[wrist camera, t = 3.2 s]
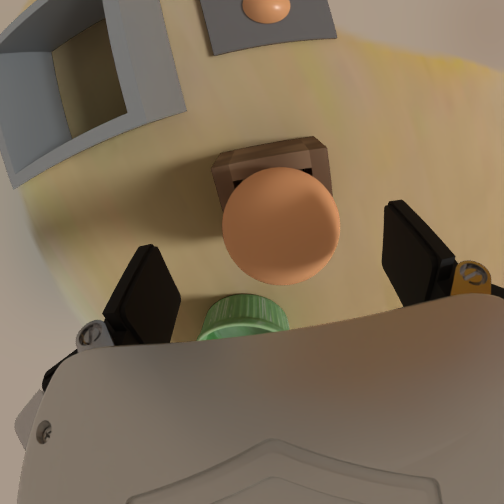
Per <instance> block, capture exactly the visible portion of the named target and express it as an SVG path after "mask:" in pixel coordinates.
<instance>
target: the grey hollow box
mask: <svg viewBox="0 0 504 504" xmlns="http://www.w3.org/2000/svg"><path fill="white" fill-rule="evenodd" d="M104 18H106V24H107V29H108V34H109V39H110V44H111V48H112V53H113V57H114V62H115V66H116V70H117V74H118V78H119V82H120V86H121V90H122V94H123V98H124V101H125V105H126V108H127V112H128V113H126V114H124V115H122V116H119V117H117V118H115V119H113V120H110V121H108V122H106V123H104V124H102V125H99V126H97V127H95V128H93V129H91V130H89V131H87V132H85V133H83V134H81V135H79V136H77V137H76V138H74V139H72V137H71V134H70V130H69V127H68V124H67V120H66V116H65V113H64V109H63V105H62V101H61V97H60V93H59V89H58V84H57V80H56V75H55V70H54V65H53V59H52V53H51V52H52V51H53V50H55V49H56V48H57V47H59V46H60V45H62V44H63V43H65V42H66V41H68V40H69V39H71V38H72V37H74V36H75V35H77V34H78V33H80V32H82V31H83V30H85V29H86V28H88V27H90V26H91V25H93V24H95V23H97V22H98V21H100V20H102V19H104ZM185 111H187V110H186V106H185V102H184V98H183V94H182V91H181V87H180V83H179V79H178V75H177V71H176V67H175V63H174V59H173V55H172V51H171V47H170V43H169V39H168V35H167V31H166V27H165V22H164V18H163V14H162V10H161V5H160V1H159V0H37V1H35V2H34V3H33V4H32V5H31V6H29V7H28V8H27V9H26V10H25V11H24V12H23V13H21V14H20V15H19V16H18V17H17V18H16V19H15V20H14V21H13V22H12V23H11V24H10V25H9V26H8V27H7V28H6V29H5V30H4V31H3V32H2V33H1V34H0V151H1V154H2V158H3V161H4V164H5V167H6V170H7V173H8V176H9V179H10V182H11V184H12V187H13V189H15V188H17V187H18V186H20V185H22V184H23V183H25V182H26V181H28V180H30V179H31V178H33V177H35V176H37V175H38V174H40V173H42V172H44V171H45V170H47V169H49V168H51V167H53V166H54V165H56V164H58V163H60V162H62V161H64V160H66V159H68V158H70V157H72V156H74V155H76V154H78V153H80V152H82V151H84V150H86V149H88V148H90V147H92V146H95V145H97V144H99V143H101V142H104V141H106V140H108V139H110V138H113V137H115V136H118V135H120V134H123V133H125V132H128V131H130V130H133V129H135V128H138V127H141V126H143V125H146V124H149V123H152V122H154V121H157V120H160V119H163V118H166V117H169V116H172V115H176V114H179V113H182V112H185Z"/></svg>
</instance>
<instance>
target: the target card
mask: <svg viewBox="0 0 504 504" xmlns="http://www.w3.org/2000/svg"><path fill="white" fill-rule="evenodd" d="M200 2H201V6H202V10H203V14H204V17H205V21H206V25H207V29H208V33H209V37H210V41H211V45H212V49H213V53H214V56H217V55H221V54H225V53H229V52H234V51H238V50H243V49H248V48H254V47H259V46H265V45H272V44H278V43H286V42H295V41H305V40H318V39H336V38H337V34H336V30H335V26H334V23H333V19H332V15H331V12H330V8H329V5H328V2H327V0H200Z"/></svg>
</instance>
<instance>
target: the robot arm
mask: <svg viewBox="0 0 504 504" xmlns="http://www.w3.org/2000/svg"><path fill="white" fill-rule="evenodd" d="M382 266H383V269H384V271H385V272H386V274H387V276H388V278H389V280H390V282H391V283H392V285H393V287H394V289H395V291H396V293H397V295H398V297H399V299H400V301H401V303H402V305H403V307H402V308H398V309H394V310H389V311H385V312H381V313H376V314H372V315H367V316H363V317H358V318H353V319H348V320H343V321H338V322H332V323H327V324H321V325H315V326H310V327H304V328H298V329H291V330H285V331H278V332H271V333H264V334H256V335H248V336H240V337H231V338H222V339H212V340H201V341H189V342H176V343H170V340H171V336H172V332H173V329H174V325H175V321H176V317H177V314H178V310H179V306H180V303H181V296H180V293H179V291H178V289H177V287H176V285H175V283H174V281H173V279H172V277H171V275H170V272H169V270H168V268H167V266H166V264H165V262H164V260H163V257H162V255H161V253H160V251H159V249H158V247H154V245H152V244H149V245H144V246H140V247H138V249H137V251H136V252H135V254H134V256H133V257H132V259H131V261H130V263H129V264H128V266H127V268H126V270H125V272H124V273H123V275H122V277H121V279H120V281H119V282H118V284H117V286H116V288H115V290H114V292H113V294H112V296H111V297H110V299H109V301H108V303H107V305H106V307H105V309H104V311H103V313H102V314H103V315H104V317H105V321H104V322H103V321H101V320H94V321H91V322H89V323H87V324H86V325H85V326H84V327H83V328H82V329H81V330H80V331H79V333H78V335H77V337H76V346H77V349H76V350H75V351H74V352H72V353H71V354H69V355H68V356H67V357H65V358H64V359H63V360H61V361H60V362H59V363H58V364H56V365H55V366H53V367H52V368H51V369H49V370H48V371H47V372H46V373H45V375H44V379H43V382H42V388H43V391H41V390H39V391H38V392H37V393H36V394H35V395H34V396H33V398H32V399H31V400H30V401H29V403H28V404H27V405H26V406H25V407H24V409H23V410H22V411H21V413H20V414H19V415H18V417H17V418H16V421H15V431H16V434H17V435H18V438H19V440H20V442H21V443H22V445H23V447H24V449H25V451H26V452H25V456H24V460H23V466H22V471H21V476H20V483H19V490H18V498H17V504H504V288H501V287H499V286H496V285H493V284H491V275H490V273H489V271H488V270H487V269H486V268H485V266H483V265H482V264H480V263H478V262H475V261H470V260H468V261H462V262H460V263H459V264H458V263H457V262H456V260H455V255H454V254H453V253H452V252H451V251H450V249H449V248H448V247H447V246H446V245H445V244H444V243H443V241H442V240H441V239H440V238H439V237H438V236H437V235H436V234H435V233H434V231H433V230H432V229H431V228H430V227H429V226H428V225H427V224H426V223H425V222H424V221H423V220H422V219H421V218H420V217H419V216H418V215H417V214H416V213H415V212H414V211H413V210H412V209H411V208H410V207H409V206H408V205H407V204H406V203H405V202H404V201H403V200H396V201H389V203H388V205H387V206H385V208H384V233H383V251H382Z"/></svg>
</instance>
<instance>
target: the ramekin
mask: <svg viewBox="0 0 504 504" xmlns="http://www.w3.org/2000/svg"><path fill="white" fill-rule="evenodd" d="M285 330H290V329H289V324H288V320H287V317H286V314H285V313H284V311H283V310H282V309H281V308H280V307H279V306H278V305H277V304H276V303H274V302H273V301H271V300H269V299H267V298H265V297H261V296H258V295H250V294H240V295H233V296H229V297H226V298H223V299H222V300H219V301H218V302H217V303H215V304H214V305H213V306H212V307H211V308H210V309H209V311H208V313H207V315H206V318H205V321H204V324H203V327H202V330H201V333H200V335H199V336H198V338H197V340H196V341H201V340H212V339H222V338H231V337H240V336H248V335H256V334H264V333H271V332H278V331H285Z"/></svg>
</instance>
